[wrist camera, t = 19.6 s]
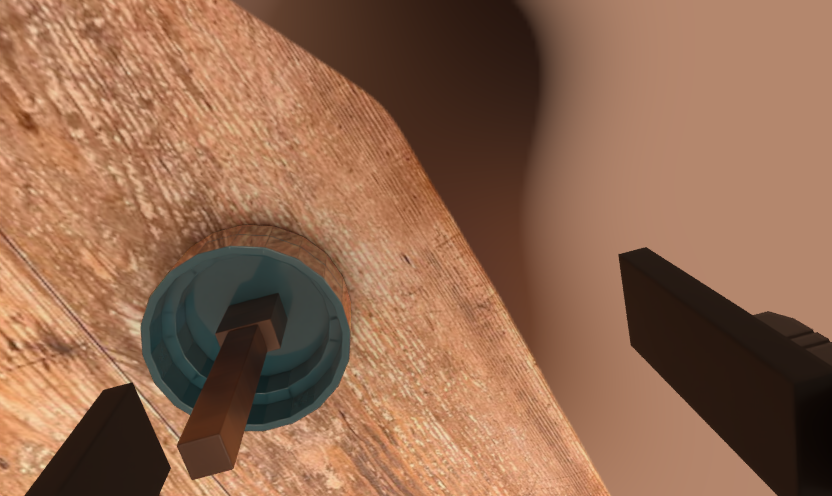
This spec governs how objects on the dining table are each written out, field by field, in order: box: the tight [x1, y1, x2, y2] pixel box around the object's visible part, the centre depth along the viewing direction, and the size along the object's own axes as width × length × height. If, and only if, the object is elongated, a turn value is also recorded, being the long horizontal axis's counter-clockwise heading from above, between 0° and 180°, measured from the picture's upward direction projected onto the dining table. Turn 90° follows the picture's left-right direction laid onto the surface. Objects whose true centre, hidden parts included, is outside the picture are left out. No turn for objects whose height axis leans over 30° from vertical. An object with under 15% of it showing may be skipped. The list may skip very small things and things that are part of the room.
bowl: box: [141, 225, 351, 431], centre depth 45 cm, size 14×14×6 cm
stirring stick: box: [177, 293, 287, 480], centre depth 38 cm, size 4×2×18 cm, turn 104°
